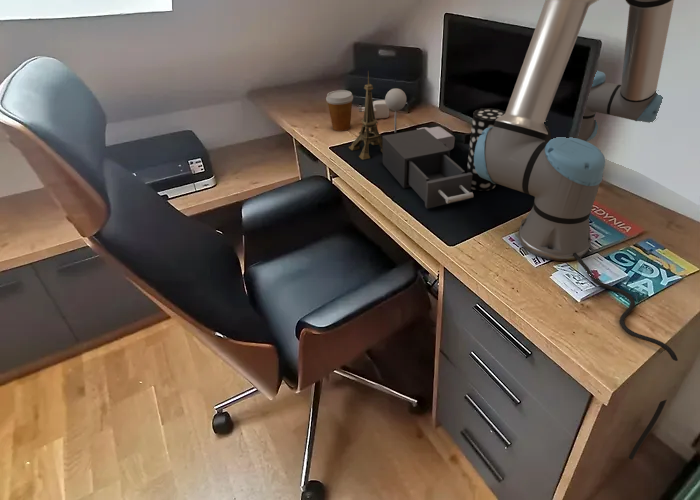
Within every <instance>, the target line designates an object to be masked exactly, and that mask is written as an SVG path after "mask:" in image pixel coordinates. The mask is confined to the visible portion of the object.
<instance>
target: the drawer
mask: <svg viewBox="0 0 700 500" xmlns="http://www.w3.org/2000/svg"><path fill="white" fill-rule="evenodd" d="M472 176H473V174H472V173H471V172H470V173H467V172H466V170H464V168H462V167H461V166H460V165H459V164H458V163H456V162H455V161H454V160H453V159H452V158H451V157H450V158H449V157H448V156H447V155H446V154H440V155H435V156H430V157H425V158H420V159H415V160H409V161H407V183H408V184H409V185H410V186H411V187H410V188H412V190H413V191H414V192H415V193H416V194H417V195H418V196H419V198H420V199H421V200H422V201H423V202H424V207H425V208H426V209H430V208H435V207H440V206H445V205H449V204H453V203H459V202H462V201H466V200H470V199H473V198H474V193H473V191H472V189H471V183H472Z"/></svg>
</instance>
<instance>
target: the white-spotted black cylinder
mask: <svg viewBox="0 0 700 500" xmlns="http://www.w3.org/2000/svg"><path fill="white" fill-rule="evenodd" d="M505 113H506V111H504V110H502V109H498V108H491V107H489V108H487V107H486V108H479V109H476V110H475V111H473V114H472V122H471V130H470V131H471V132H470V133H471V139H470V143H469V148H468V157H467V166H466V173H470V172H471V173H472V174H473V176H472V183H471V190H473V191H480V192H486V191H487V192H488V191H491V190H493V189H495V188H496V186H497V184H494V183H492V182H491V181H489V180H486V179H484V178H481V177H480V176H479V175H478V174H477V172H476V170H475V165H474V152H475V147H476V143H477V141H478V138H479V136H480V135H482V132H483V131H484V130H485V129H486V128H488V127H493V126H494V123H495V120H496V119H497V118H499V117H501V116H502V115H504V114H505Z"/></svg>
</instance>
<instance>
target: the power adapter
mask: <svg viewBox="0 0 700 500" xmlns="http://www.w3.org/2000/svg"><path fill="white" fill-rule="evenodd" d="M373 108H374V114H375V120H377V119H387V118H389V117H390V109H389V108H388V107H387V106H386V103H385V99H380V100H373ZM364 110H365V106H359V107H358V112H359V113H362V112H363V113H364Z"/></svg>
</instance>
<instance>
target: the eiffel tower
mask: <svg viewBox="0 0 700 500" xmlns="http://www.w3.org/2000/svg"><path fill="white" fill-rule="evenodd" d="M363 89H364V90H365V100H364V107H365V109H363V110H364V112H363V118H362V119H361V120H360V122H361V129H360V132H358V134H359V135H357V137H356V138H355V140H353V142H352V143H351V145H350V146H349V145H348V149H349V150H350V151H351V152H352V151H357V150H360V149H361V147H360V146H361V144H362V142H363V144H364V145H363V147H362V150H361V151H360V154H359V155H358V158H359V159H360V160H362V161H364V160H368V159H371V156H370V153H369V145H370V144H371V145H372V146H377V145H378V146H379V148H380V152H381V153H382V154H383V138H382V137H381V134H380V132H379V128H378V125H377V124H379V122H378V120H377V119H375V114H374V108H373V101H374V100H373V93H372V90H374V87H373V84H371V83H370V76H369V71H367V84H364V87H363Z"/></svg>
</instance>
